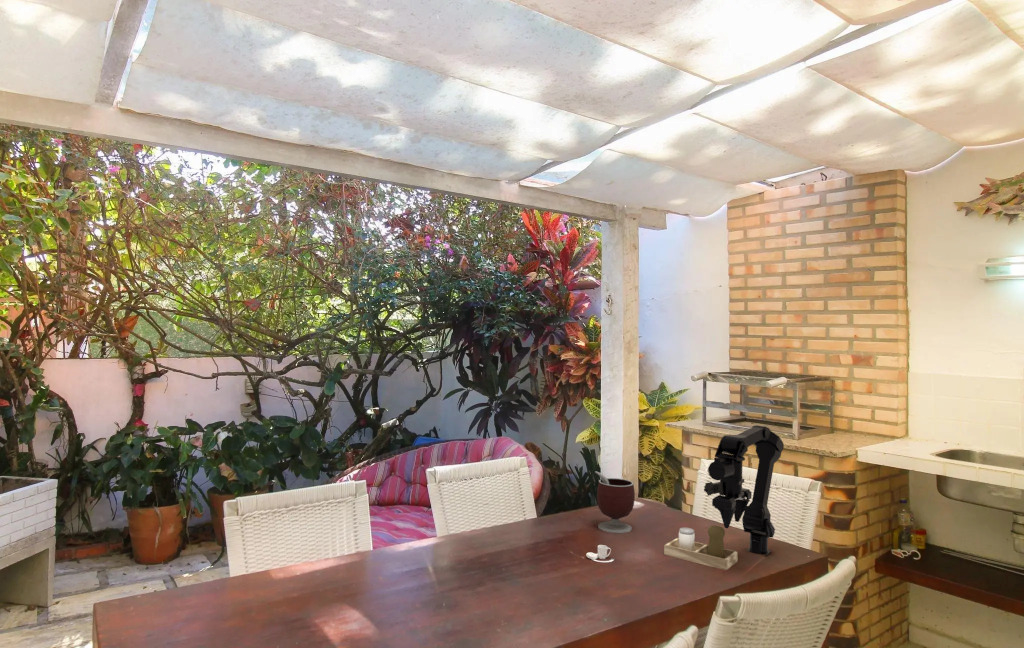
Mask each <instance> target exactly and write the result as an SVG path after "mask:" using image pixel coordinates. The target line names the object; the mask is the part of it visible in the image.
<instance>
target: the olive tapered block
mask: <svg viewBox="0 0 1024 648" xmlns="http://www.w3.org/2000/svg"><path fill="white" fill-rule="evenodd" d="M707 534H708V536H709V538H708V544H707V545H708V550H707V555H711V556H715V557H719V558H723V559H725V553H724V549H725V546H724V538H725V534H726V532H725V529H724V527H722V526H720V525H710V526H709V527H708V530H707Z"/></svg>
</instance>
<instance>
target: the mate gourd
mask: <svg viewBox="0 0 1024 648" xmlns="http://www.w3.org/2000/svg"><path fill="white" fill-rule="evenodd" d="M594 473H595V474H597V475H598V476H599V478H600V479H599V480H598V484H597V489H596V500H597V501H596V502H597V507H598V509H599V511H600V512H601V513H602V514H603V515H604V516H606V517H608V518H610V521H603V522H600V523H598V525H597V527H598V529H599V530H601V531H603V532H606V533H613V534H626V533H629V532H631V531H632V526H631V525H630V524H627V523H625V522H621V521H620V520H619V519H622V518H625V517H628V516H629V515H630V514H631V512H633V510H634V506H635V501H636V499H635V497H636V493H635V492H636V491H635V486H634V484H635V483H634V482H633V481H632V480H629V479H625V478H617V477H616V478H614V477H612V478H611V477H606V476H605V475H604V474H602V473H601V472H599V471H594Z"/></svg>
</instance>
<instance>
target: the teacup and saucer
mask: <svg viewBox="0 0 1024 648" xmlns="http://www.w3.org/2000/svg"><path fill="white" fill-rule="evenodd" d="M608 550H609V553H608ZM611 551H612V549H611V548H610V547H608V546H607V545H605V544H604V545H603V544H599V545H597V553H594V552H592V551H591V552H587V553H586V554H585V555H586V557H587V558H588V559H591V560H592V561H594V562H597V563H611V562H614V561H615V558H613V557H610V560H606V558H608V557H609V556H610V555H611ZM597 559H600V560H597Z"/></svg>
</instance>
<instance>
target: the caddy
mask: <svg viewBox="0 0 1024 648" xmlns="http://www.w3.org/2000/svg"><path fill="white" fill-rule="evenodd" d="M678 544H679V537H677V538H675V539H672V540H671V541H670V542H667V543H665V544H664V546H663V547H664V548H663V550H664V551H663V552H664V553H663V554H664V556H668V557H672V558H676V559H680V560H684V561H688V562H693V563H695V564H699V565H700V564H701V565H704V566H707V567H712V568H716V569H719V570H724V571H727V570H729V569H730V568H731V567H732V566H734V565H735V564H737V563H738V562H739V561H738V560H739V551H736V550H733V549H727V548H724V553H725V559H723V558H719V557H715V556H711V555H707V550H708V544H706V543H701V542H698V541H694V551H690V550H686V549H682V548H678Z"/></svg>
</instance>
